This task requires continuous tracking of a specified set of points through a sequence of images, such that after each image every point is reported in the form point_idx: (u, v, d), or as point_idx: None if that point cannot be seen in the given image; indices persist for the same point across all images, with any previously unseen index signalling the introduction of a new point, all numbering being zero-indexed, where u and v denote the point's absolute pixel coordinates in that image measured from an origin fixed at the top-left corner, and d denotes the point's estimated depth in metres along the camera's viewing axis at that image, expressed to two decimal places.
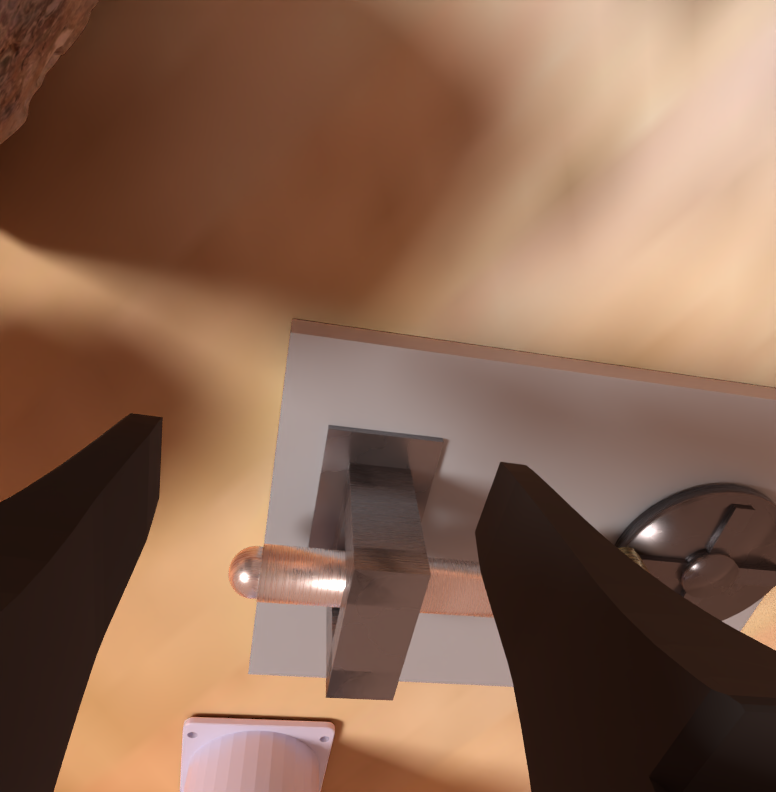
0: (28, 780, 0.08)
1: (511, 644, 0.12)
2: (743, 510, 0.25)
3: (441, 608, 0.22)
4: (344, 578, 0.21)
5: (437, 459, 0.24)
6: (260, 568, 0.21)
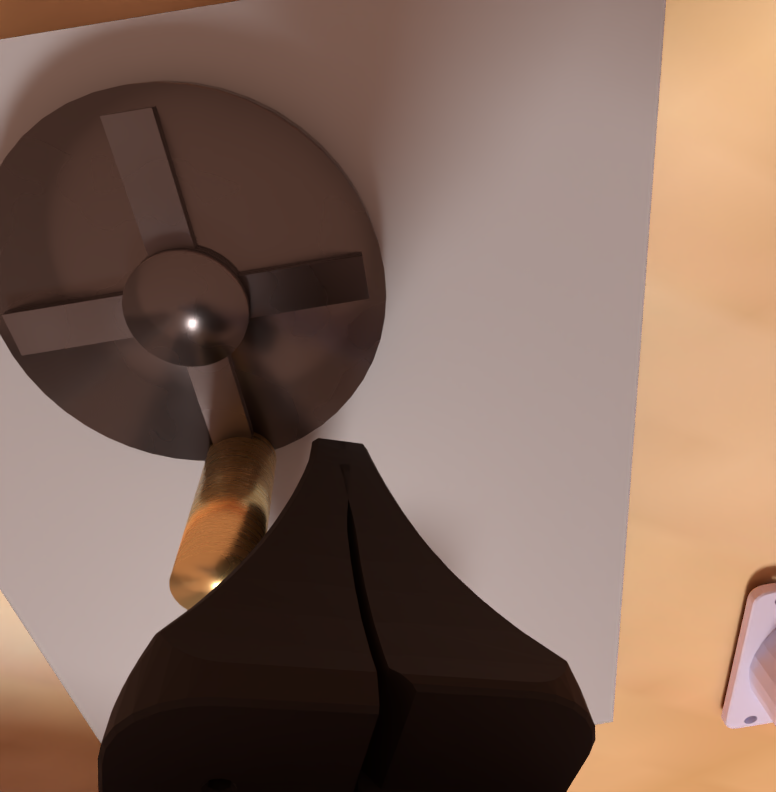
0: None
1: None
2: (19, 334, 0.12)
3: None
4: None
5: None
6: None
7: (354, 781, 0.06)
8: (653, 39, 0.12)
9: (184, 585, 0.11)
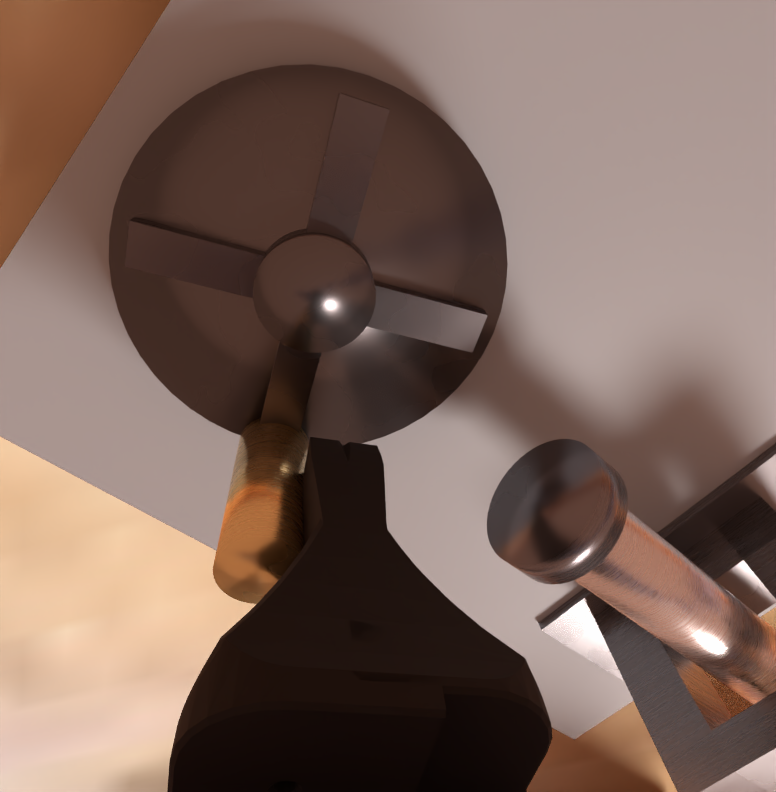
0: None
1: None
2: (133, 245, 0.12)
3: (725, 647, 0.15)
4: None
5: (561, 616, 0.19)
6: None
7: (416, 783, 0.06)
8: None
9: (231, 561, 0.11)
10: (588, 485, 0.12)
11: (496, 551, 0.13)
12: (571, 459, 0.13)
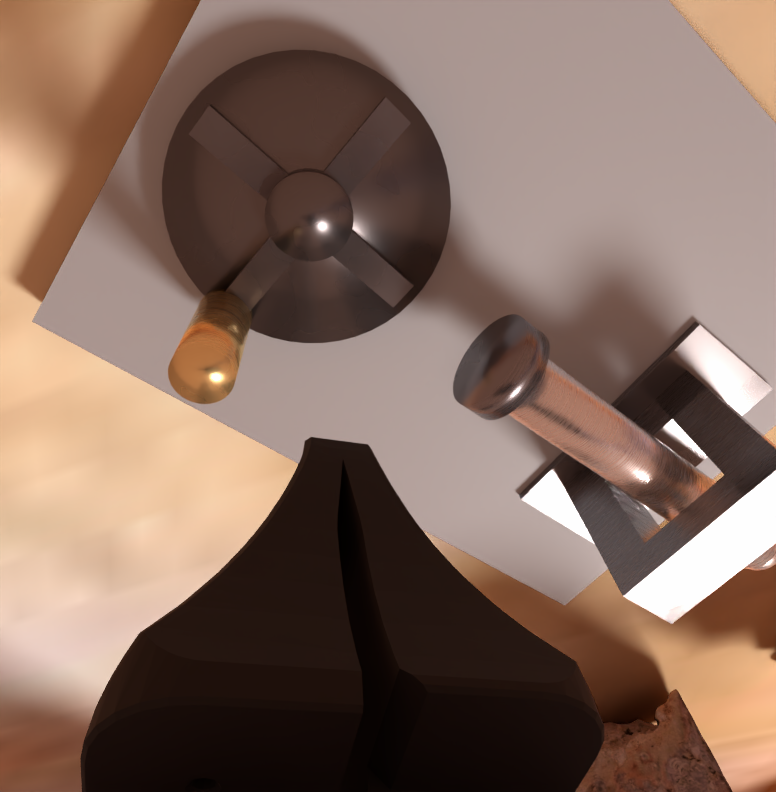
0: None
1: None
2: (202, 123, 0.16)
3: (648, 474, 0.19)
4: None
5: (536, 486, 0.24)
6: None
7: (340, 781, 0.06)
8: None
9: (187, 359, 0.15)
10: (518, 340, 0.17)
11: (458, 401, 0.18)
12: (509, 327, 0.17)
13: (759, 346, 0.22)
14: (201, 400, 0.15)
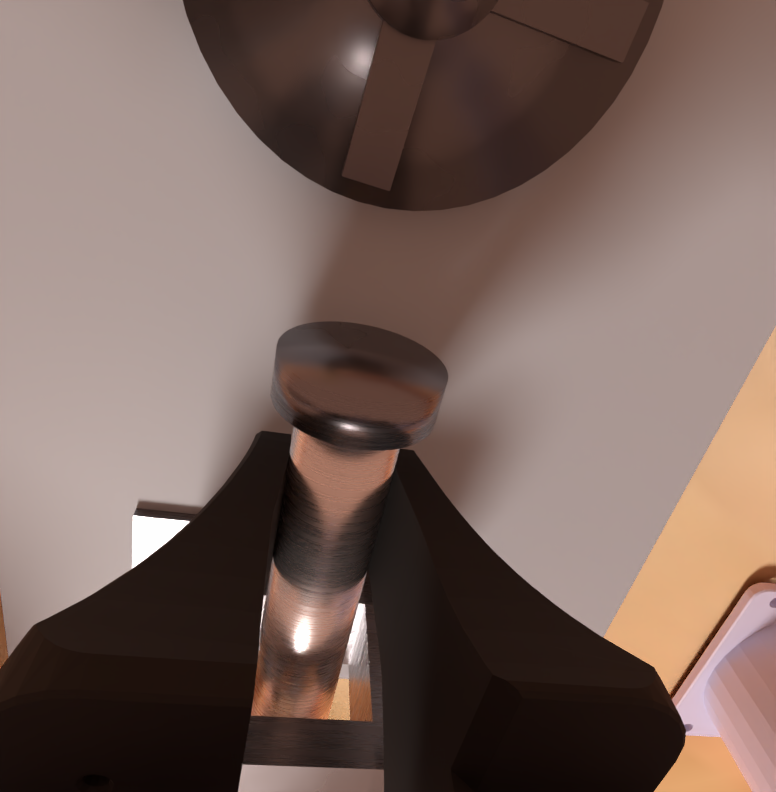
0: None
1: (382, 634, 0.11)
2: None
3: (315, 647, 0.13)
4: None
5: (166, 520, 0.16)
6: None
7: (238, 779, 0.06)
8: None
9: None
10: (427, 382, 0.10)
11: (280, 354, 0.10)
12: (419, 358, 0.11)
13: None
14: None
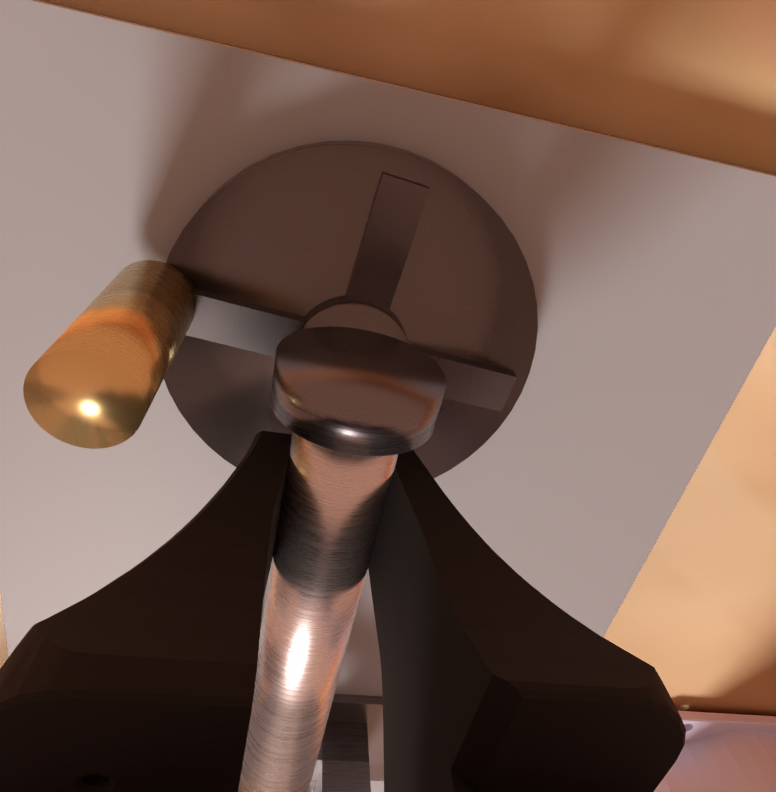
0: None
1: (383, 634, 0.11)
2: (403, 187, 0.11)
3: (314, 651, 0.13)
4: (255, 741, 0.15)
5: None
6: None
7: (238, 778, 0.06)
8: None
9: (99, 372, 0.08)
10: (425, 388, 0.10)
11: (280, 360, 0.10)
12: (418, 364, 0.11)
13: None
14: (35, 410, 0.09)
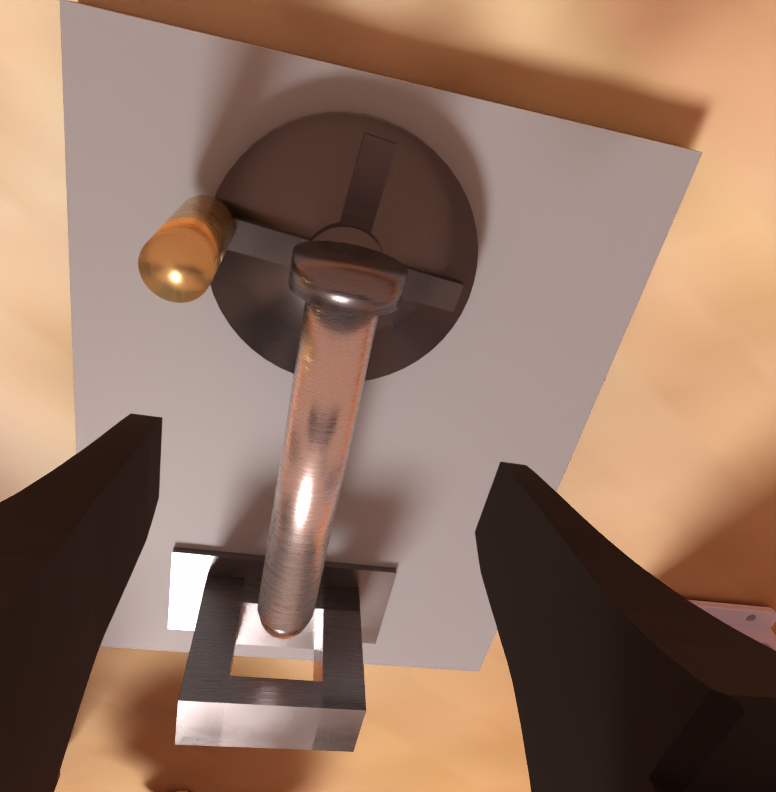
0: (28, 780, 0.08)
1: (511, 644, 0.12)
2: (379, 142, 0.16)
3: (318, 477, 0.18)
4: (274, 560, 0.20)
5: (193, 555, 0.24)
6: (262, 619, 0.21)
7: None
8: (672, 207, 0.19)
9: (185, 249, 0.13)
10: (392, 274, 0.15)
11: (295, 254, 0.15)
12: (389, 263, 0.16)
13: (399, 614, 0.27)
14: (143, 276, 0.14)
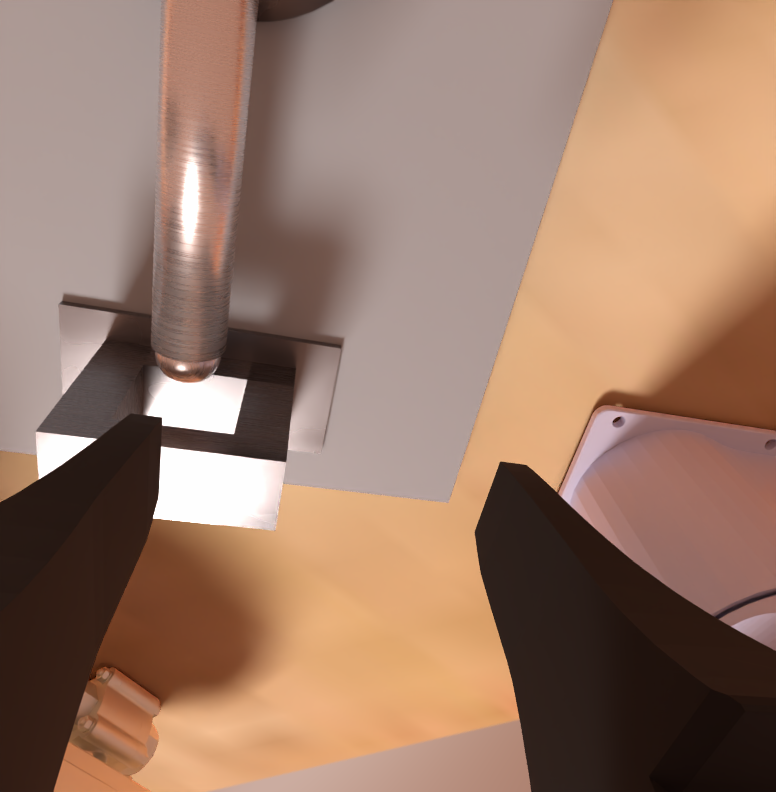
0: (28, 780, 0.08)
1: (511, 644, 0.12)
2: None
3: (204, 93, 0.13)
4: (160, 246, 0.15)
5: (85, 310, 0.19)
6: (154, 349, 0.17)
7: None
8: None
9: None
10: None
11: None
12: None
13: (348, 415, 0.22)
14: None
